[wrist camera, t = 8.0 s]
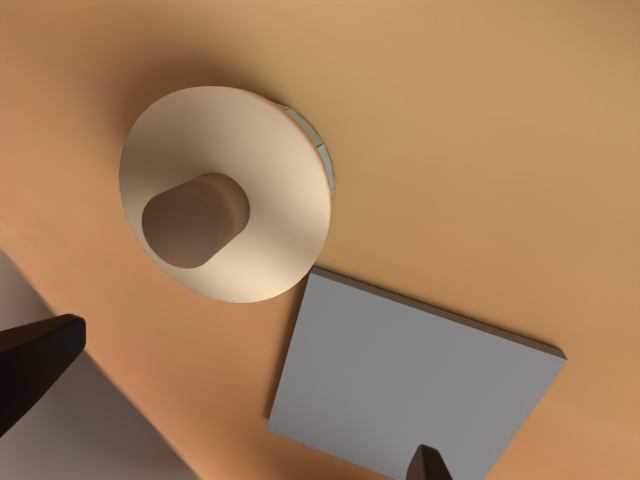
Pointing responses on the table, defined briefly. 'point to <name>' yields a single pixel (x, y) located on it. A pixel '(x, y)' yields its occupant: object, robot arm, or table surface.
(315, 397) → the mat
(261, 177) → the lid
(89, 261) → the table surface
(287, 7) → the table surface
